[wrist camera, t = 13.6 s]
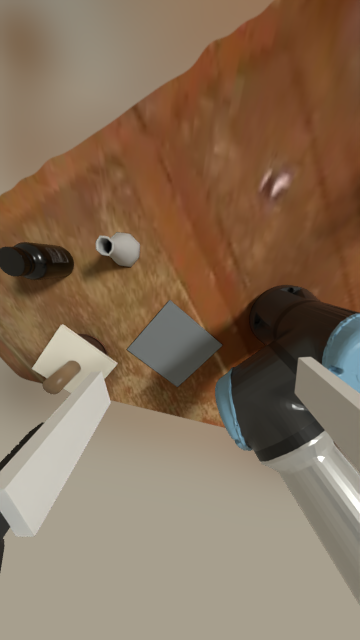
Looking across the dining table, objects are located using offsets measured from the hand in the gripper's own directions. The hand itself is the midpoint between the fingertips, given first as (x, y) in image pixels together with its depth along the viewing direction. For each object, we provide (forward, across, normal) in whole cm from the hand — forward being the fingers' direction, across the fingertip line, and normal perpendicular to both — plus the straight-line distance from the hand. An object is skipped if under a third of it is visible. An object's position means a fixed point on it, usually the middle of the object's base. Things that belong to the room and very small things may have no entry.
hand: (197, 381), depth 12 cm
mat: (+31, +6, +13) cm, 34 cm away
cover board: (+25, +30, +13) cm, 41 cm away
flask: (+31, +14, -12) cm, 36 cm away
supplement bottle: (+31, +30, -12) cm, 44 cm away
